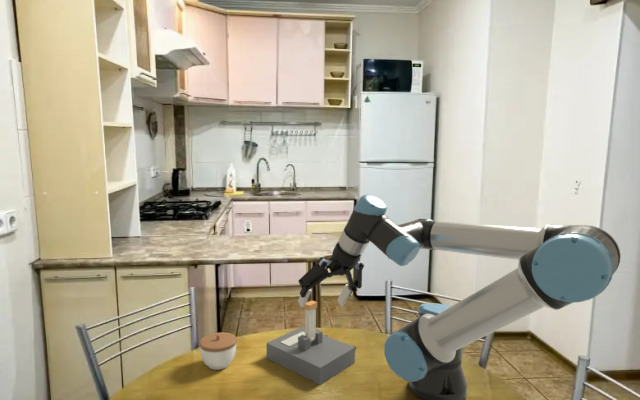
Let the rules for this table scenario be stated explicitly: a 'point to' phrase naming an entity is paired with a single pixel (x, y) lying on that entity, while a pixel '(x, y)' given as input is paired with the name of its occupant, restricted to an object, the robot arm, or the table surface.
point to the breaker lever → (310, 320)
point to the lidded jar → (218, 350)
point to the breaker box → (311, 355)
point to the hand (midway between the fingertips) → (320, 303)
